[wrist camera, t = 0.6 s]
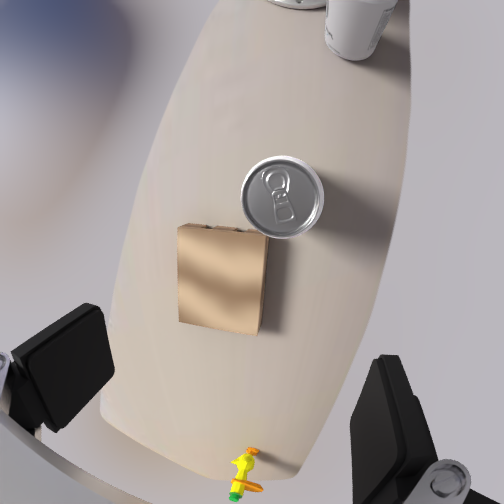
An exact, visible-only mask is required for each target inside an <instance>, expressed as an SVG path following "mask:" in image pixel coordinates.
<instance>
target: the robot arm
mask: <svg viewBox="0 0 504 504" xmlns="http://www.w3.org/2000/svg"><path fill="white" fill-rule="evenodd" d="M267 1H270V2H272V3H274V4H277V5H280V6H283V7H288V8H295V9H313V8H319V7H324V6H327V0H267ZM11 354H12V356H13V359H14V362H12V363H11V360H10V358H9V356H8V355H7V354H6V353H3V352H0V504H152V503H149V502H146V501H144V500H142V499H139V498H137V497H135V496H133V495H130V494H128V493H126V492H124V491H122V490H120V489H117V488H116V487H113V486H112V485H109V484H108V483H105V482H104V481H102V480H100V479H98V478H96V477H95V476H93V475H91V474H89V473H87V472H86V471H84V470H82V469H81V468H79V467H77V466H76V465H74V464H72V463H71V462H69V461H68V460H66V459H65V458H63V457H62V456H60V455H58V454H57V453H56V452H54V451H53V450H51V449H50V448H48V447H47V446H45V445H44V444H43V443H42V442H41V424H42V423H43V422H44V424H45V425H46V427H47V428H49V429H50V430H52V431H53V432H55V433H57V432H58V431H59V430H60V429H61V428H64V427H66V426H67V425H68V423H69V422H70V421H71V420H72V419H73V418H74V417H75V416H76V415H77V414H78V413H79V412H80V411H81V409H82V408H83V407H84V406H85V405H86V404H87V403H88V402H89V401H90V400H91V399H92V398H93V397H94V396H95V394H96V393H97V392H98V391H99V390H100V389H101V388H102V387H103V386H104V385H105V384H106V383H107V382H108V381H109V380H110V379H111V378H112V376H113V375H114V372H115V367H114V363H113V359H112V354H111V350H110V345H109V340H108V335H107V330H106V325H105V320H104V314H103V312H102V311H101V309H100V307H98V306H96V305H92V304H89V303H84V304H82V305H81V306H79V307H77V308H76V309H74V310H73V311H71V312H70V313H68V314H66V315H65V316H63V317H62V318H60V319H59V320H57V321H56V322H54V323H53V324H51V325H49V326H48V327H46V328H45V329H43V330H42V331H40V332H39V333H37V334H36V335H34V336H33V337H31V338H30V339H28V340H27V341H26V342H24V343H23V344H21V345H20V346H18V347H17V348H16V349H14V350H12V351H11ZM350 435H351V454H352V480H353V481H352V482H353V504H500V503H498V502H496V501H494V500H491V499H490V498H488V497H486V496H484V495H482V494H480V493H477V492H476V491H473V490H472V489H470V485H471V476H470V474H469V471H468V470H467V468H466V467H465V466H464V465H463V464H461V463H460V462H458V461H455V460H451V459H443V460H440V461H438V457H437V454H436V450H435V447H434V443H433V440H432V437H431V434H430V431H429V428H428V425H427V422H426V419H425V416H424V413H423V410H422V407H421V404H420V401H419V399H418V397H417V396H415V395H413V392H412V389H411V386H410V384H409V381H408V378H407V376H406V373H405V371H404V368H403V365H402V364H401V360H400V358H399V356H398V355H380V356H379V358H378V359H374V360H373V362H372V364H371V367H370V370H369V373H368V376H367V378H366V381H365V384H364V386H363V389H362V392H361V394H360V397H359V399H358V402H357V405H356V407H355V409H354V411H353V414H352V416H351V420H350Z"/></svg>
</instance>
